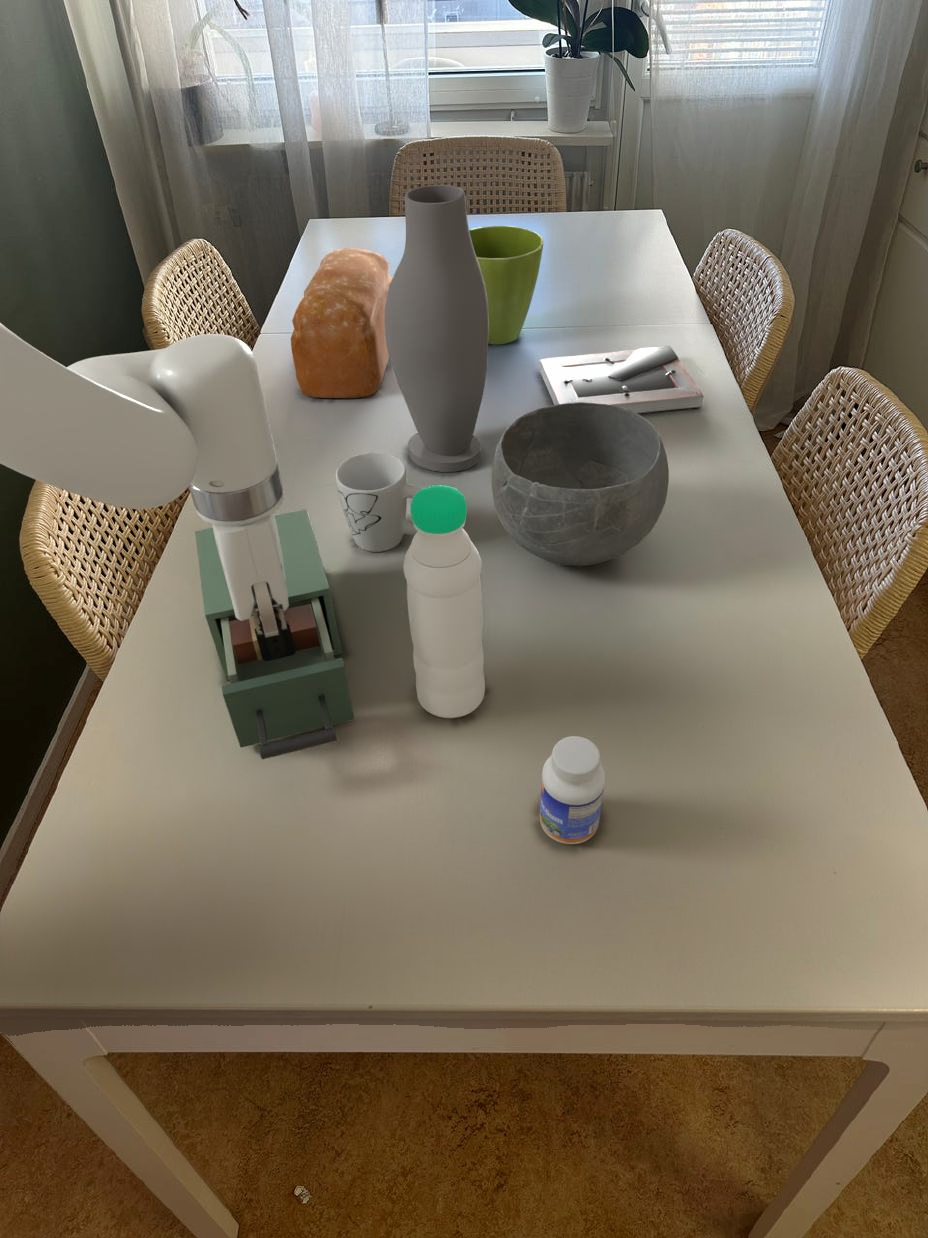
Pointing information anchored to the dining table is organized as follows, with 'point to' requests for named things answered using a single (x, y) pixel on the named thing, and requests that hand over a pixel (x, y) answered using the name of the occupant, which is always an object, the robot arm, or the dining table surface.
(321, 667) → the drawer
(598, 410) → the bowl
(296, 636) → the brown banded block
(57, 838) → the dining table surface
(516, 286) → the flower pot
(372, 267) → the bread
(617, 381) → the picture frame
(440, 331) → the vase
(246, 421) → the robot arm
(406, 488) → the mug
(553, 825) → the pill bottle
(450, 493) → the water bottle
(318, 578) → the cabinet
